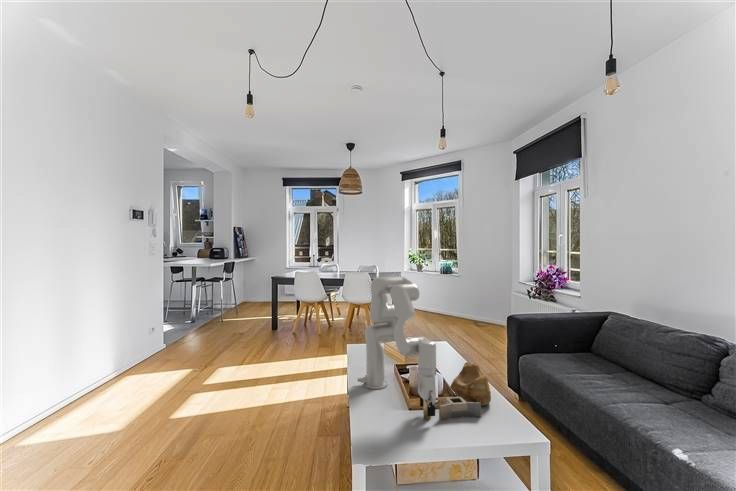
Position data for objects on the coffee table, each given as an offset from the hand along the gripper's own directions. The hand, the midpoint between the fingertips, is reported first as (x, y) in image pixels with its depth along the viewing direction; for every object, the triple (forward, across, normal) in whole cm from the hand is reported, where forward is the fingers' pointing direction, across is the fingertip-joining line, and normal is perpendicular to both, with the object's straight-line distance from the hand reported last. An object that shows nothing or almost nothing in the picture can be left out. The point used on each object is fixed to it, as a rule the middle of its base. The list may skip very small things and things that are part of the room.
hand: (427, 411), depth 162 cm
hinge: (+3, -2, +14) cm, 14 cm away
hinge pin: (+3, 0, 0) cm, 3 cm away
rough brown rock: (+4, -17, +27) cm, 32 cm away
